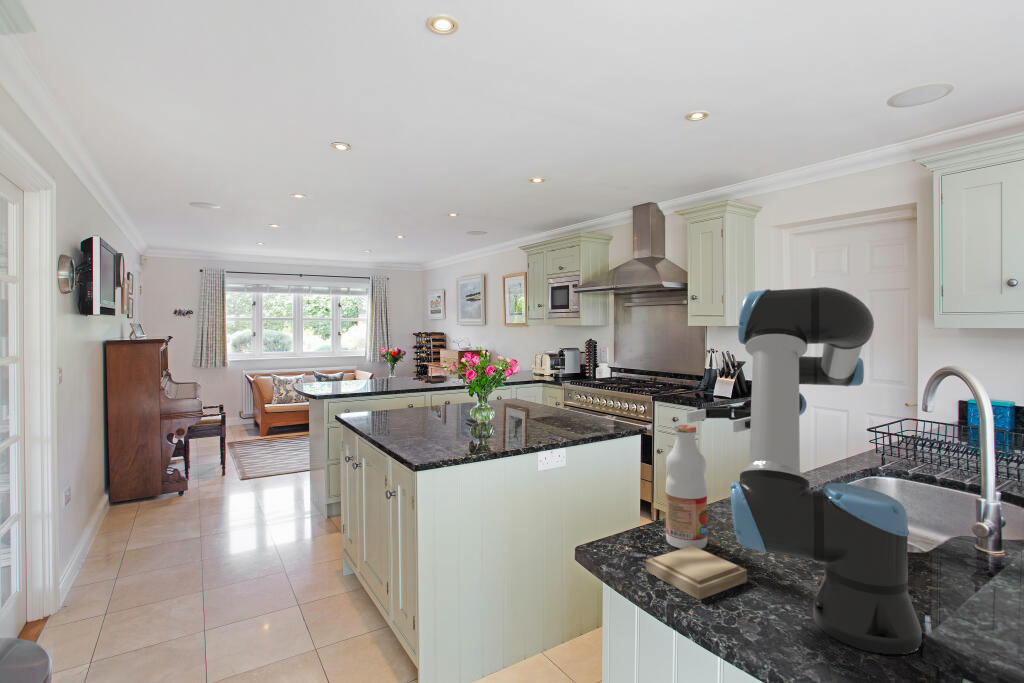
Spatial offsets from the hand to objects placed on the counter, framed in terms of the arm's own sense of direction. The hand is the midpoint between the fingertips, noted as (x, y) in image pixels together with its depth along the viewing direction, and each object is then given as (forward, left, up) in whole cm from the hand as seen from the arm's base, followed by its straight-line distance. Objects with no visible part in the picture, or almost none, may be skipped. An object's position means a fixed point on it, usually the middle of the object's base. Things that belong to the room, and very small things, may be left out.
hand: (710, 421), depth 129 cm
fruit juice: (0, +9, -28) cm, 30 cm away
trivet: (-13, +21, -28) cm, 37 cm away
